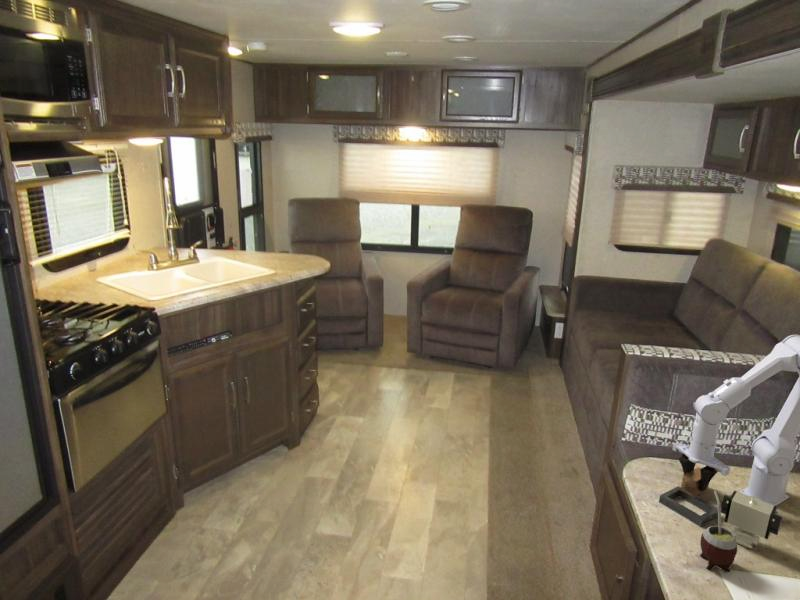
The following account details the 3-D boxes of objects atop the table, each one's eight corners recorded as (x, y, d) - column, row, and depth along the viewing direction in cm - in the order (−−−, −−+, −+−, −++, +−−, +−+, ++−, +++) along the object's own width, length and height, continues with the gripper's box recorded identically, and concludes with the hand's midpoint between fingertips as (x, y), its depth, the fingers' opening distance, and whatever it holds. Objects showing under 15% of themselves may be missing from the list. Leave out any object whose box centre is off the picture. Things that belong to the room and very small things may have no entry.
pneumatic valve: (770, 560, 128) (781, 514, 125) (713, 535, 136) (722, 492, 133) (775, 547, 132) (786, 503, 129) (720, 524, 140) (729, 482, 136)
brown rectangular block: (695, 483, 157) (698, 467, 155) (707, 489, 154) (711, 473, 152) (680, 490, 153) (683, 474, 152) (692, 497, 150) (695, 481, 149)
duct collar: (677, 492, 152) (678, 486, 152) (719, 516, 143) (720, 509, 142) (658, 501, 148) (660, 495, 148) (700, 527, 139) (702, 520, 138)
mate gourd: (723, 580, 122) (736, 520, 118) (687, 558, 128) (698, 501, 124) (739, 565, 127) (752, 507, 122) (703, 545, 133) (714, 489, 128)
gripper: (669, 432, 153) (661, 476, 157) (722, 457, 141) (713, 504, 145) (684, 425, 157) (676, 469, 160) (738, 450, 145) (728, 496, 149)
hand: (695, 485), depth 153 cm, fingers closed on brown rectangular block, 3 cm apart
